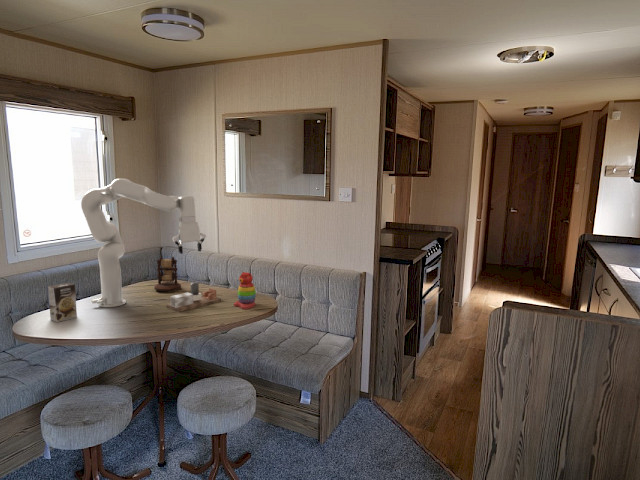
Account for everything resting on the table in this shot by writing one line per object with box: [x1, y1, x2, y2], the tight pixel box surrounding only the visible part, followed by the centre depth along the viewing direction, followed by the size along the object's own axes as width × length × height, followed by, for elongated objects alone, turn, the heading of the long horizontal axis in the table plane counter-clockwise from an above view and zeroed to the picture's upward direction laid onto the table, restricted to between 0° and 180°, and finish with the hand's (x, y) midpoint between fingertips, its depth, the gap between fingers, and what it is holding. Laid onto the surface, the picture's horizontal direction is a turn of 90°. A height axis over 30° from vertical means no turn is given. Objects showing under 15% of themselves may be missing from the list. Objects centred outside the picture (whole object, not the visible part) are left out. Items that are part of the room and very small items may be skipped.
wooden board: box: [165, 287, 222, 313], centre depth 224 cm, size 26×12×6 cm, turn 140°
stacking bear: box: [233, 271, 257, 310], centre depth 222 cm, size 11×10×18 cm
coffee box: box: [48, 282, 78, 323], centre depth 197 cm, size 9×6×16 cm
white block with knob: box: [190, 281, 202, 301], centre depth 221 cm, size 14×4×9 cm, turn 140°
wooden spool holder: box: [154, 256, 182, 293], centre depth 248 cm, size 15×15×20 cm
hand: (190, 252), depth 222 cm, fingers open, 9 cm apart
